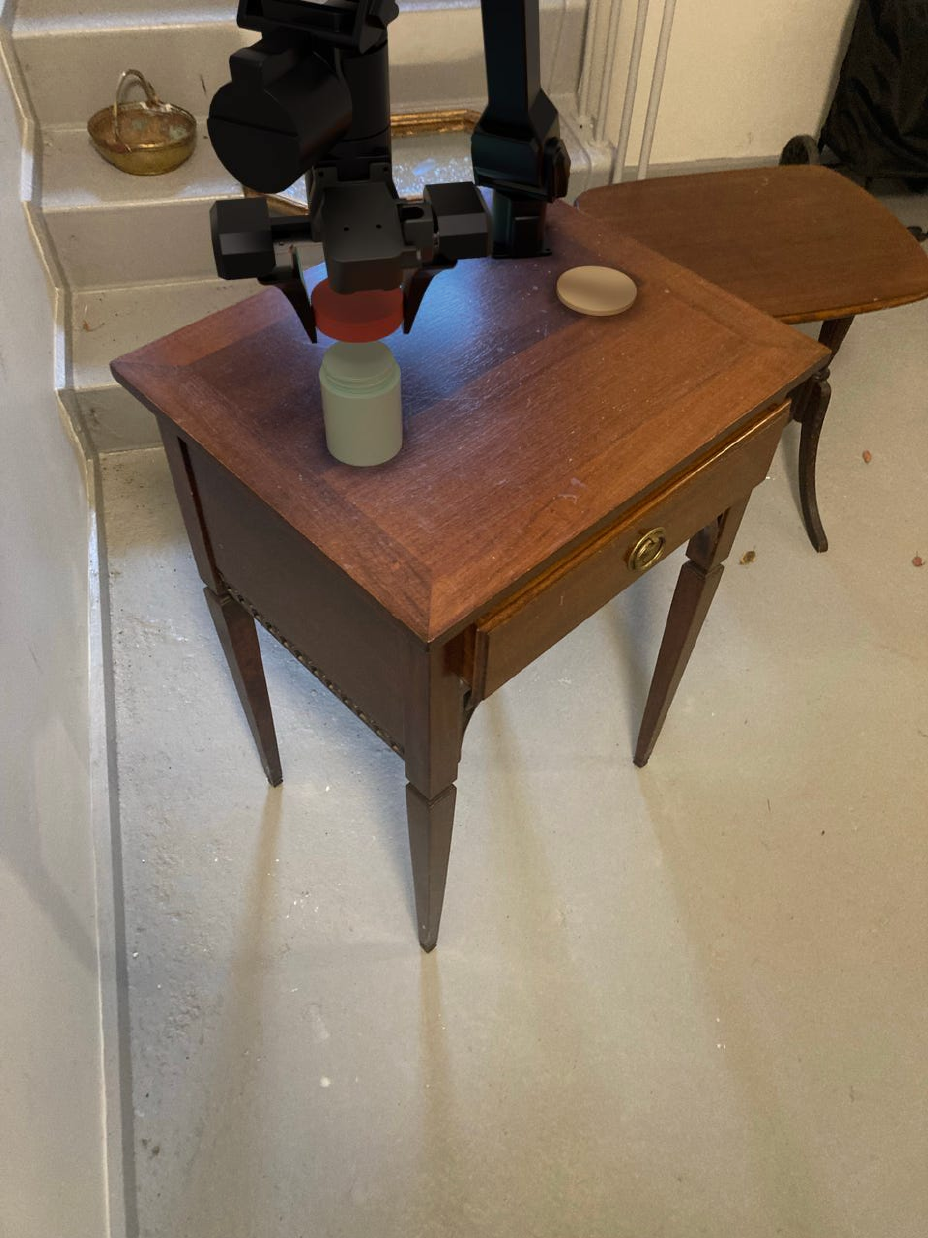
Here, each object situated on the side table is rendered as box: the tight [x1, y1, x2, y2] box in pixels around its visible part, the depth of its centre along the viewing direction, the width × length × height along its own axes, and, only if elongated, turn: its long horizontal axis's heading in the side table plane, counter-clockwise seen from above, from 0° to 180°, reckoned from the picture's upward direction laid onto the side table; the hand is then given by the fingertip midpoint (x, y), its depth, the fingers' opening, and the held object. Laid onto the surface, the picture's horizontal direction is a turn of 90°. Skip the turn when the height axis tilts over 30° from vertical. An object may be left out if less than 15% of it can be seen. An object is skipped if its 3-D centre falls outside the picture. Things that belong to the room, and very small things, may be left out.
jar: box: [318, 340, 404, 467], centre depth 75 cm, size 6×6×8 cm
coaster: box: [555, 265, 638, 317], centre depth 93 cm, size 8×8×1 cm
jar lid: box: [309, 277, 404, 343], centre depth 69 cm, size 7×7×2 cm
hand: (359, 335), depth 70 cm, fingers closed on jar lid, 6 cm apart
